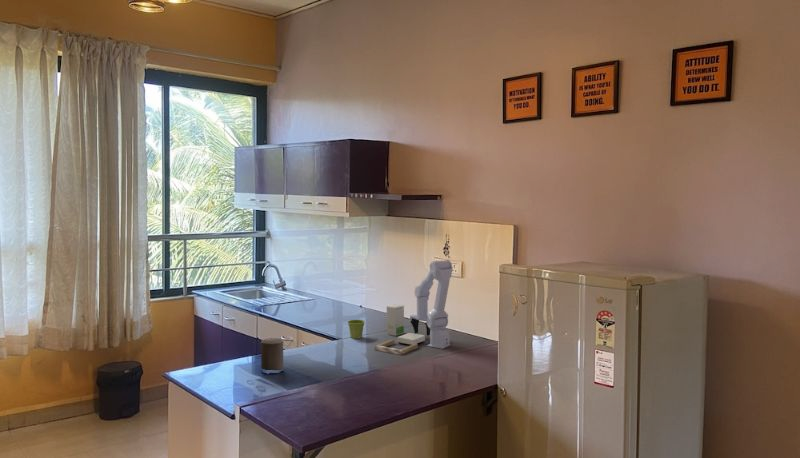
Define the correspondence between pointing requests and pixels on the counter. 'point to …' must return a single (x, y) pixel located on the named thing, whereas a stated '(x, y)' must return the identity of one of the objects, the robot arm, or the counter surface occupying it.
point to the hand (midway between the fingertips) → (422, 334)
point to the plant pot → (356, 328)
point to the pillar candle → (272, 354)
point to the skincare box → (395, 320)
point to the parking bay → (391, 350)
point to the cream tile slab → (411, 338)
